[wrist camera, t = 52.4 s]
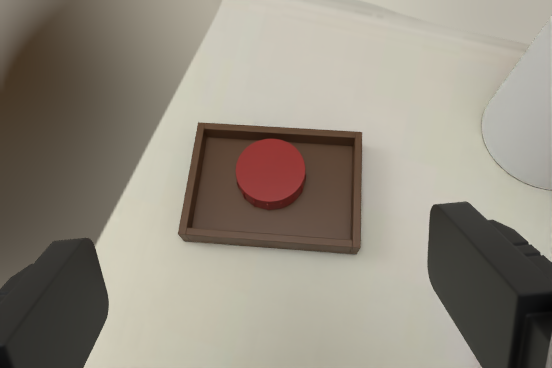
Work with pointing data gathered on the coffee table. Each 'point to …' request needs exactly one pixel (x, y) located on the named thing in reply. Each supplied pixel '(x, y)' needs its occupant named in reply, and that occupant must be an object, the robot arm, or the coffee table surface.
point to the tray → (280, 222)
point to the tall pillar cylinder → (524, 116)
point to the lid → (270, 174)
